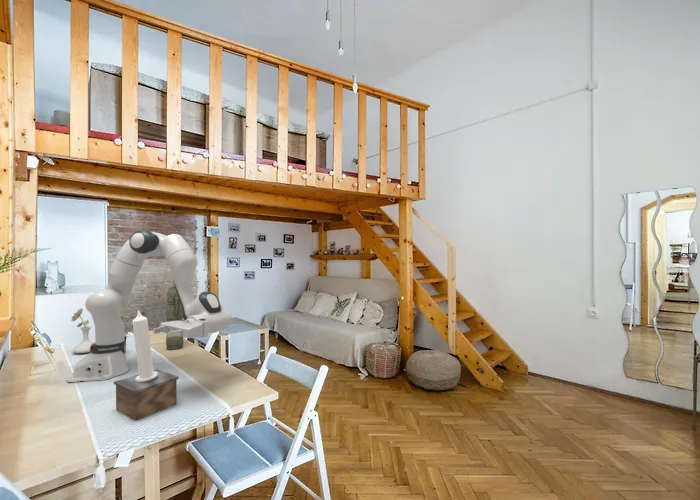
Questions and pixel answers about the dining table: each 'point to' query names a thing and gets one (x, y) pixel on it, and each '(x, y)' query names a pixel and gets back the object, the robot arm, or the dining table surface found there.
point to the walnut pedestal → (146, 395)
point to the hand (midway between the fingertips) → (160, 333)
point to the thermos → (174, 318)
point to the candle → (143, 349)
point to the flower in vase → (85, 344)
